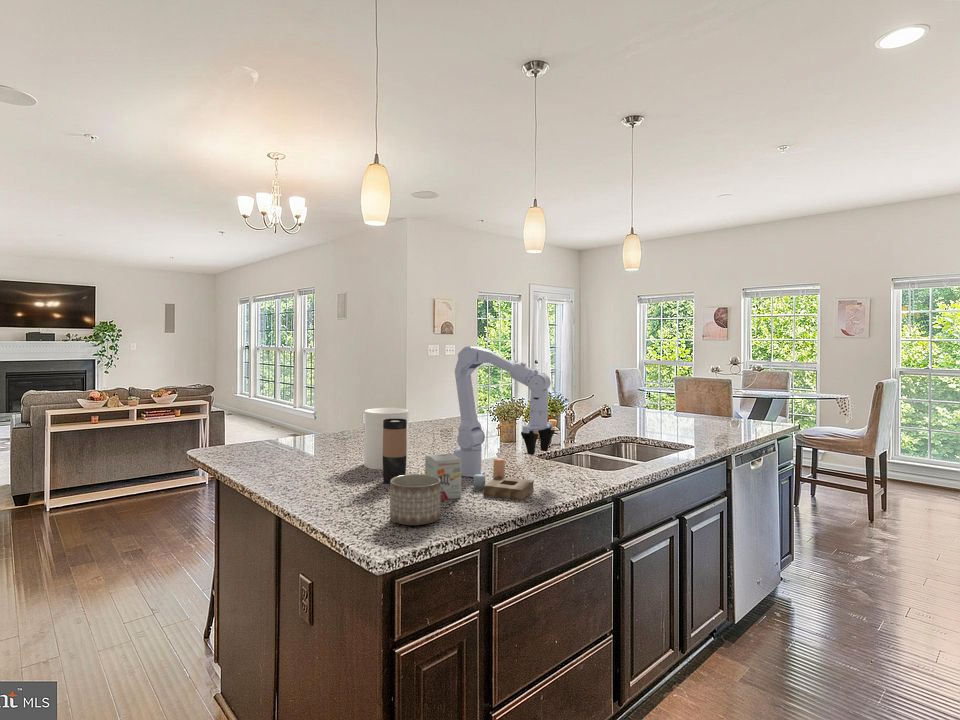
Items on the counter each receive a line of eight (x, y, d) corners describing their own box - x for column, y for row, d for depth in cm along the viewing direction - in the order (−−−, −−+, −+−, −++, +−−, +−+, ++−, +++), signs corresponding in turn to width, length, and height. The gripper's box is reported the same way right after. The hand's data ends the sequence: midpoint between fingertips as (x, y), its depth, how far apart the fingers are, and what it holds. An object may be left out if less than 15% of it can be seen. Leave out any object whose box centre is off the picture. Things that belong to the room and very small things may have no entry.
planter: (388, 514, 141) (388, 475, 141) (436, 511, 144) (436, 473, 144) (391, 530, 129) (392, 487, 128) (443, 527, 132) (444, 485, 131)
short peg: (471, 489, 167) (472, 476, 166) (476, 486, 170) (476, 473, 170) (482, 490, 165) (482, 477, 165) (486, 487, 169) (487, 474, 168)
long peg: (491, 484, 172) (492, 460, 171) (495, 482, 175) (495, 457, 175) (502, 486, 170) (502, 461, 170) (505, 483, 174) (506, 458, 173)
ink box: (434, 501, 153) (435, 460, 153) (423, 493, 161) (424, 454, 160) (462, 497, 157) (462, 457, 157) (450, 490, 165) (450, 452, 164)
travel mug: (410, 480, 176) (411, 419, 175) (397, 485, 169) (398, 422, 168) (391, 477, 179) (391, 417, 178) (377, 482, 172) (378, 420, 171)
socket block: (483, 495, 160) (483, 485, 159) (496, 485, 171) (496, 476, 171) (522, 500, 155) (522, 489, 155) (533, 489, 166) (533, 480, 166)
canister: (414, 461, 204) (414, 408, 203) (398, 471, 188) (399, 414, 188) (375, 458, 207) (375, 407, 207) (356, 467, 192) (356, 412, 191)
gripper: (536, 414, 165) (534, 458, 166) (561, 410, 176) (560, 451, 177) (517, 411, 170) (516, 454, 170) (543, 408, 181) (542, 448, 181)
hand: (537, 452), depth 174 cm, fingers open, 7 cm apart
